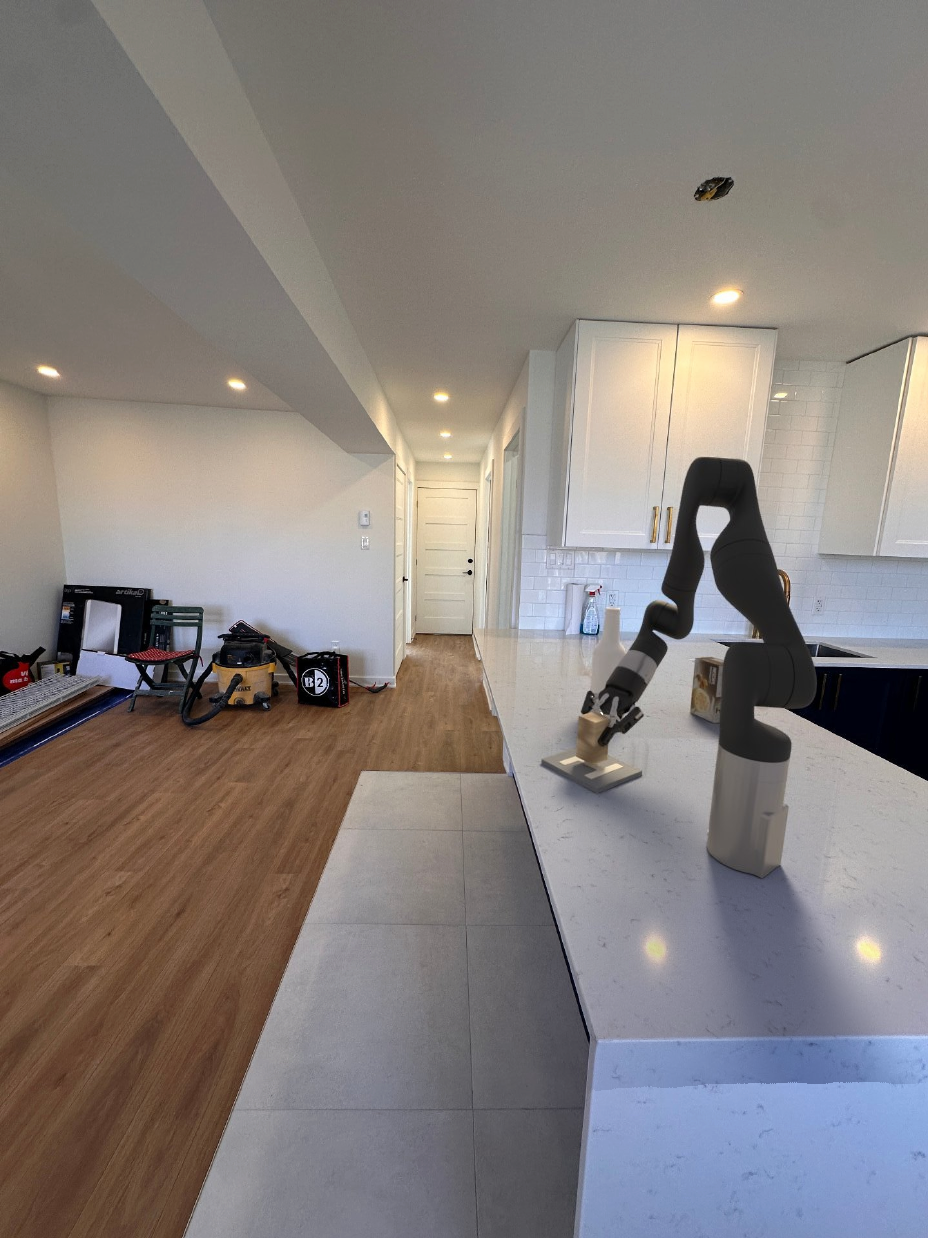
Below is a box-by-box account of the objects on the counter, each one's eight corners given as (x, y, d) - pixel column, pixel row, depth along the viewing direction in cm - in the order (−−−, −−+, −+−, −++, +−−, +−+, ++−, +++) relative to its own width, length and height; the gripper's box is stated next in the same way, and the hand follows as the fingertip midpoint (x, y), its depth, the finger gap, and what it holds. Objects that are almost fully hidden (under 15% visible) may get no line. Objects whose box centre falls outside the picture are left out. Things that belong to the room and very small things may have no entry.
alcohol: (625, 714, 137) (634, 607, 132) (615, 723, 130) (624, 611, 125) (594, 707, 142) (602, 604, 137) (583, 716, 135) (591, 607, 130)
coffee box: (732, 721, 134) (738, 664, 131) (713, 723, 132) (719, 665, 129) (706, 710, 143) (712, 656, 140) (688, 712, 141) (694, 657, 138)
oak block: (607, 759, 102) (610, 718, 101) (592, 765, 100) (595, 722, 98) (590, 751, 106) (593, 711, 105) (575, 756, 104) (578, 715, 102)
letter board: (641, 775, 101) (642, 770, 101) (596, 793, 93) (597, 788, 93) (585, 749, 113) (586, 744, 113) (541, 763, 105) (541, 758, 105)
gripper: (598, 658, 111) (557, 720, 106) (654, 673, 99) (611, 743, 94) (612, 678, 115) (572, 738, 110) (667, 694, 103) (626, 762, 98)
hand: (590, 740), depth 102 cm, fingers closed on oak block, 4 cm apart
